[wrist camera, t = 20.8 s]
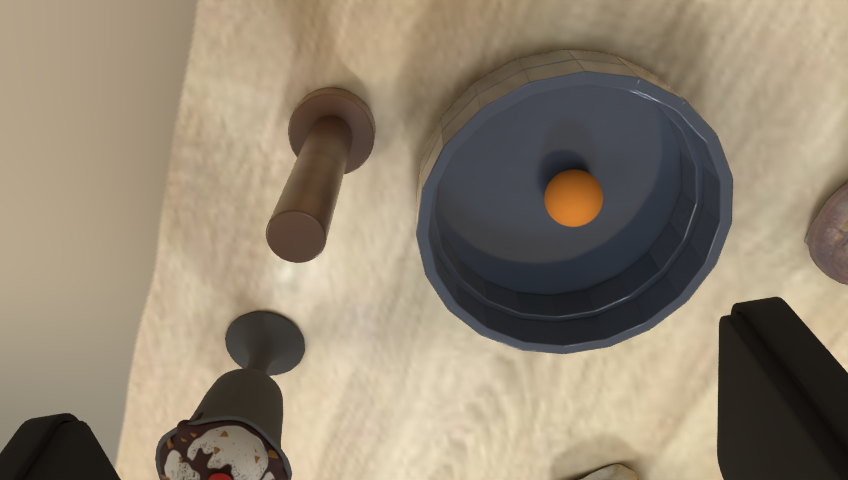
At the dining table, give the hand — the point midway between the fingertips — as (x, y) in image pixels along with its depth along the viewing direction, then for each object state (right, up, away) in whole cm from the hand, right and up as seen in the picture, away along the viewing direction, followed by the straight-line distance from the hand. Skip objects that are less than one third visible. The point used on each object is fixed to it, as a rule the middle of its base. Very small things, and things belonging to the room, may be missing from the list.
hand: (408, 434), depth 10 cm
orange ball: (+8, +5, +25) cm, 27 cm away
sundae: (-10, -4, +32) cm, 34 cm away
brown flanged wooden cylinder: (-5, +9, +25) cm, 27 cm away
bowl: (+8, +6, +27) cm, 28 cm away
